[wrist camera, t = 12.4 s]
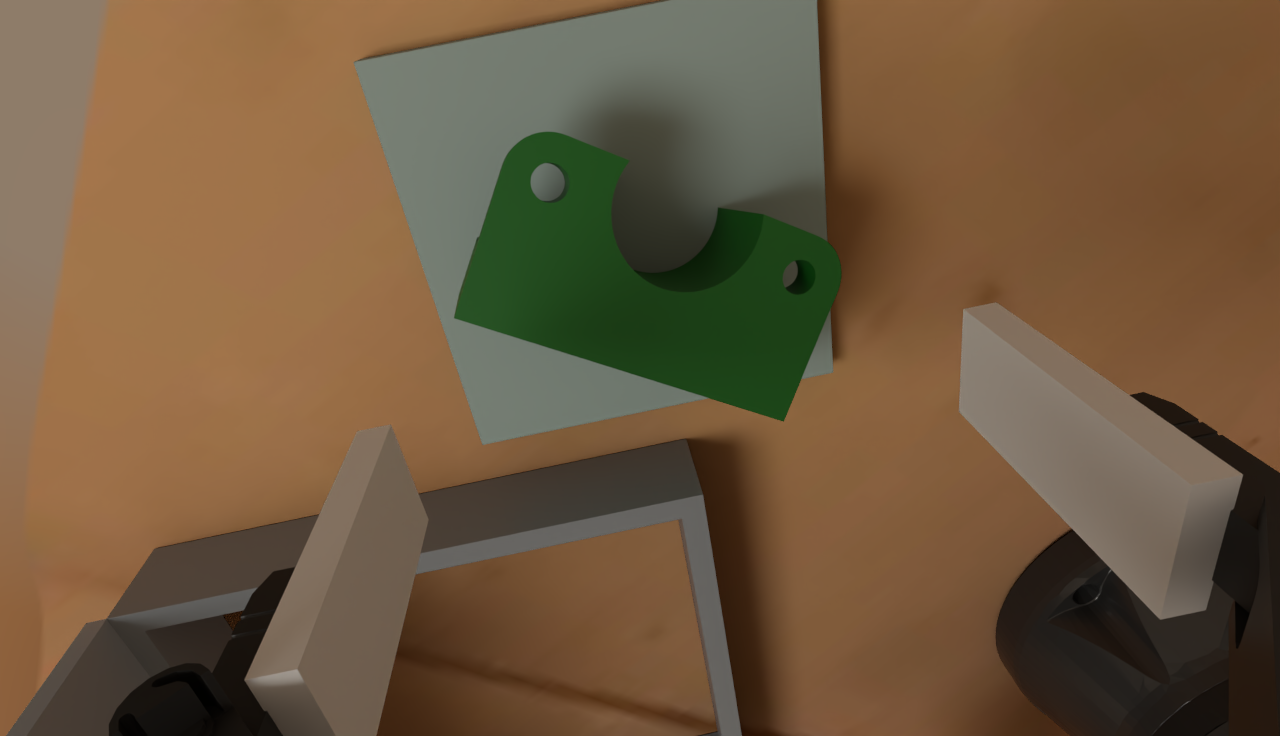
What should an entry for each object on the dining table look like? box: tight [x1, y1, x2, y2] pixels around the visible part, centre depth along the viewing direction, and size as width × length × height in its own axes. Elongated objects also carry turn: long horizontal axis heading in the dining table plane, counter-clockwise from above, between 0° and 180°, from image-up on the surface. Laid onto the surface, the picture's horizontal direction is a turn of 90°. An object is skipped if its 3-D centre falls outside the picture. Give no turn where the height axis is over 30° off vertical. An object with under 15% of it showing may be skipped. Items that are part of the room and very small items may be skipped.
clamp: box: [454, 132, 841, 421], centre depth 24 cm, size 12×6×9 cm, turn 61°
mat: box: [354, 0, 833, 445], centre depth 27 cm, size 15×15×1 cm
